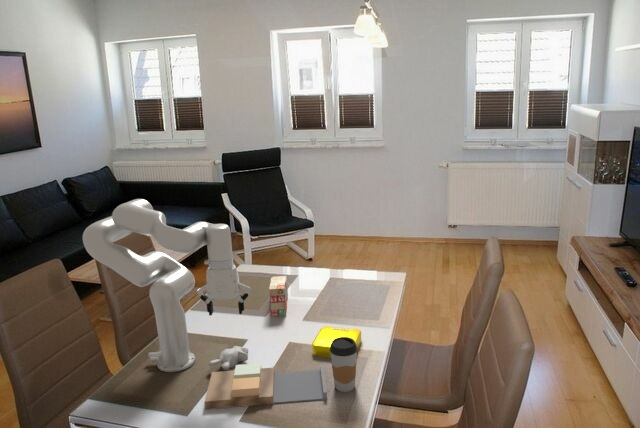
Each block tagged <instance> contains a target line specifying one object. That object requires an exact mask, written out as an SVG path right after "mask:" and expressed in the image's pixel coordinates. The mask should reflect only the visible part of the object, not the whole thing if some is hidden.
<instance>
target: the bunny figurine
mask: <svg viewBox="0 0 640 428" xmlns="http://www.w3.org/2000/svg"><path fill="white" fill-rule="evenodd" d="M248 354H249V348H246V347H243V346H239V345H233V347H231V348H224V349H223V350H222V351H221V353H220V354H219V358H218V359H217V358H216V359H214V360H213V359H212V360H209V363H208V366H210V367H212V366H215V365H217V364H221V368H222V369H223V370H224V371H229V370H230V368H231V369H232V368H235V367H236V365H239V363H240V362H241V363H242V362H246V361H248V360H249V355H248Z"/></svg>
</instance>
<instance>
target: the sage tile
mask: <svg viewBox="0 0 640 428" xmlns="http://www.w3.org/2000/svg"><path fill="white" fill-rule="evenodd" d="M261 368H262V363H261V362H260V363H258V362H257V363H246V364H245V363H244V364H237V365H236V366H235V367H234V370H235V373H234V379H237V378H250V377H260V380H261Z"/></svg>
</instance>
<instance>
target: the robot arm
mask: <svg viewBox="0 0 640 428" xmlns="http://www.w3.org/2000/svg"><path fill="white" fill-rule="evenodd" d="M132 233H137V234H139V235H144V236H147V237H151V238H153V240H154V241H155V242H156V243H157V244H158V245H159V246H161V247H162V248H163V249H166V250H170V251H173V252H175V253H176V252H177V253H180V254H189V253H193V252H195V251H196V250H198V249H200V248H202V247H204V246H206V247H207V257H208V259H206V260H205V259H204V261H203V263H204V265H207V266H208V267H207V268H206V278H205V279H206V282H205V283H206V284H205V285H203V286H202V287H199V288H198V289H197V290H196V293H197V295H198V296H199V298H200V300H202V301H203V302H204V303H205V304H206V311H207V313H208V315H209V316H212V315H213V313H214V304H213V300H217V301H218V300H233V299H236V300H237V301H238V303H237V304H238V314H239V315H242V314H243V311H245V302H244V301H245V300H246V299H248V297H249V294H250V293H251V290H252V287H251V286H248V285H247V284H245V283H241V282H240V276H239V273H238V272H239V271H238V268H237V267H236V264H235V263H234V253H233V242H232V235H231V234H232V233H231V228H230V226H229V225H228V224H226V223H210V222H207V221H196V222H194V223H192V224H190V225H189V226H187V227H184V228H182V229H181V228H176V227H173V226H169V225H167V217H166V215H165V214H164V213H163V212H161V211H159V210H155V209H154V207H153V206H152V204H151V203H150V202H149V201H148V200H146V199H144V198H135V199H132V200H129V201H127V202H124V203H121V204H119V205H118V206H116V208H114V209H113V211H112V213H111V215H110V216H107V217H105V218H103V219H100V220H97V221H95V222H94V223H93V222H92V223H91V224H90V225H88V226H87V227H86V228H85V230H84V231H83V233H82V243H83V246H84V248H85V250H86V252H87V253H88V254H89V256H91V258H92V259H94V260H96V261H97V262H99V263H100V264H103V265H104V266H106V267H107V268H109V269H111V270H112V271H114V272H115V273H117V274H118V275H119V276H121V277H122V278H124V279H126V280H127V281H128V282H130V283H132V284H133V285H135V286H137V287H139V288H143V287H147V286H149V285H150V284H151V286H150V287H149V294H148V295H149V299H150V302H151V305H152V307H153V310H154V311H153V312H154V316H155V323H156V329H157V337H158V342H159V343H158V344H159V351H158V352H157V351H156V352H153V351H151V352H148V358H149V359H150V362H155V361H157V363H156V366H157V368H158V369H159V370H160V371H162V372H166V373H177V372H181V371H184V370H186V369H189V368H190V367H191V366H193V365H194V363H195V362H196V356H195V354H194V353H193V352H191V351H190V344H189V343H190V342H189V336H188V335H189V334H188V329H187V328H188V327H187V320H186V313H185V310H184V308H183V306H182V304H181V301H180V300H181V299H182V298H183V297H185V295H187V294H188V293H190V292H191V291H192V290H193V289H194V287H195V284H196V280H195V276H194V274H193V273H192V271H191V270H189V268H187V267H186V266H184V265H183V264H182V263H179V261H177V260H175V259H174V258H172V257H171V256H169V255H168V254H166V253H164V252H161V251H156V250H153V251H150V252H148V253H145V254H144V255H140V254H137V253H136V252H134V251H132V250H131V249H130V248H128V247H126V246H123V245H120V244H116V243H115V242H117V241H119V240H121V239H124V238H125V237H127V236H130V234H132ZM241 290H244V291H245V292H244V293H243V294H242V293H241ZM205 291H206V294H204V292H205Z"/></svg>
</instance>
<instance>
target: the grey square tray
mask: <svg viewBox="0 0 640 428" xmlns="http://www.w3.org/2000/svg"><path fill="white" fill-rule="evenodd" d="M327 391H328V390H327V383H326V376H325V370H324V364H323V363H321V364H319V369H313V370H301V371H287V372H285V371H284V372H274V397H273V404H272V405H274V404H275V405H276V404H287V403H298V402H312V401H324V400H325V401H326V400H328V392H327Z"/></svg>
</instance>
